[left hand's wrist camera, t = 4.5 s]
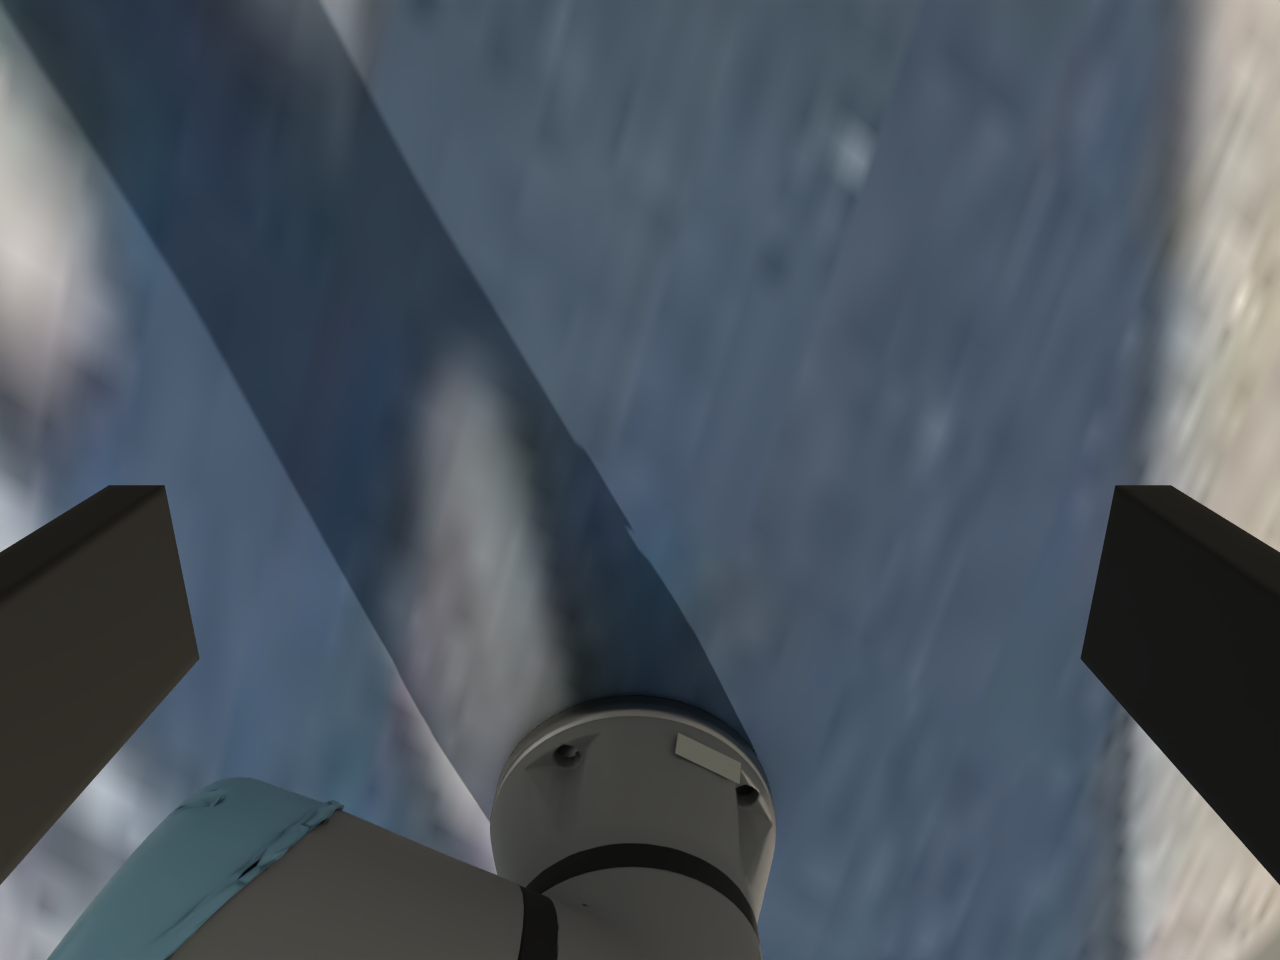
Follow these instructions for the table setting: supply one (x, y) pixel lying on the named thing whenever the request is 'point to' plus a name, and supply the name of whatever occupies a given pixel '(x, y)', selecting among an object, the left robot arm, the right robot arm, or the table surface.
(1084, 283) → the table surface
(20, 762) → the left robot arm
